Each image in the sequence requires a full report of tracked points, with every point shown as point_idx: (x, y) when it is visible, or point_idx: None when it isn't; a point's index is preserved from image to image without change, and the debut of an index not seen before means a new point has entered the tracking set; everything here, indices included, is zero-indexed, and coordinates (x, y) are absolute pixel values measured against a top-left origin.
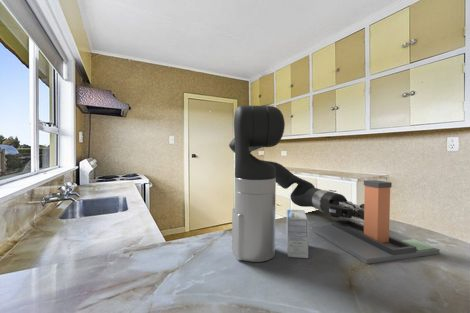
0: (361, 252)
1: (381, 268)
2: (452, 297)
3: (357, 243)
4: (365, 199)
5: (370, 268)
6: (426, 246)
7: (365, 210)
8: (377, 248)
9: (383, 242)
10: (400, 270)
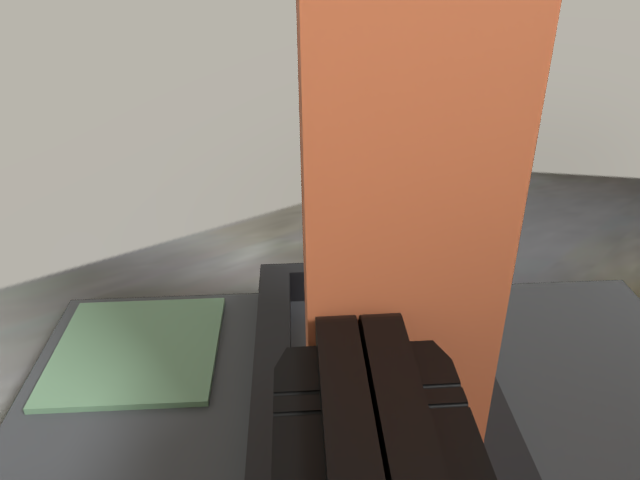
0: (625, 325)
1: (553, 274)
2: None
3: (601, 426)
4: (543, 57)
5: (611, 279)
6: (110, 318)
7: (512, 225)
8: None
9: None
10: None
